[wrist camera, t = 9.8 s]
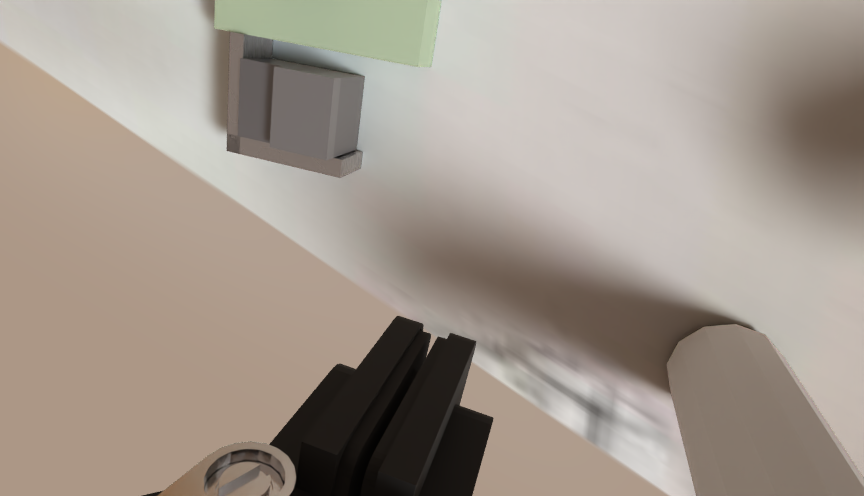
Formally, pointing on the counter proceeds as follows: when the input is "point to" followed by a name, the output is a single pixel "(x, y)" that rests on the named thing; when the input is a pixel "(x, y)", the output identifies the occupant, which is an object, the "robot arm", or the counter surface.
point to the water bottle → (752, 420)
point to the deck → (340, 25)
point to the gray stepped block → (299, 107)
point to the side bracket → (335, 167)
